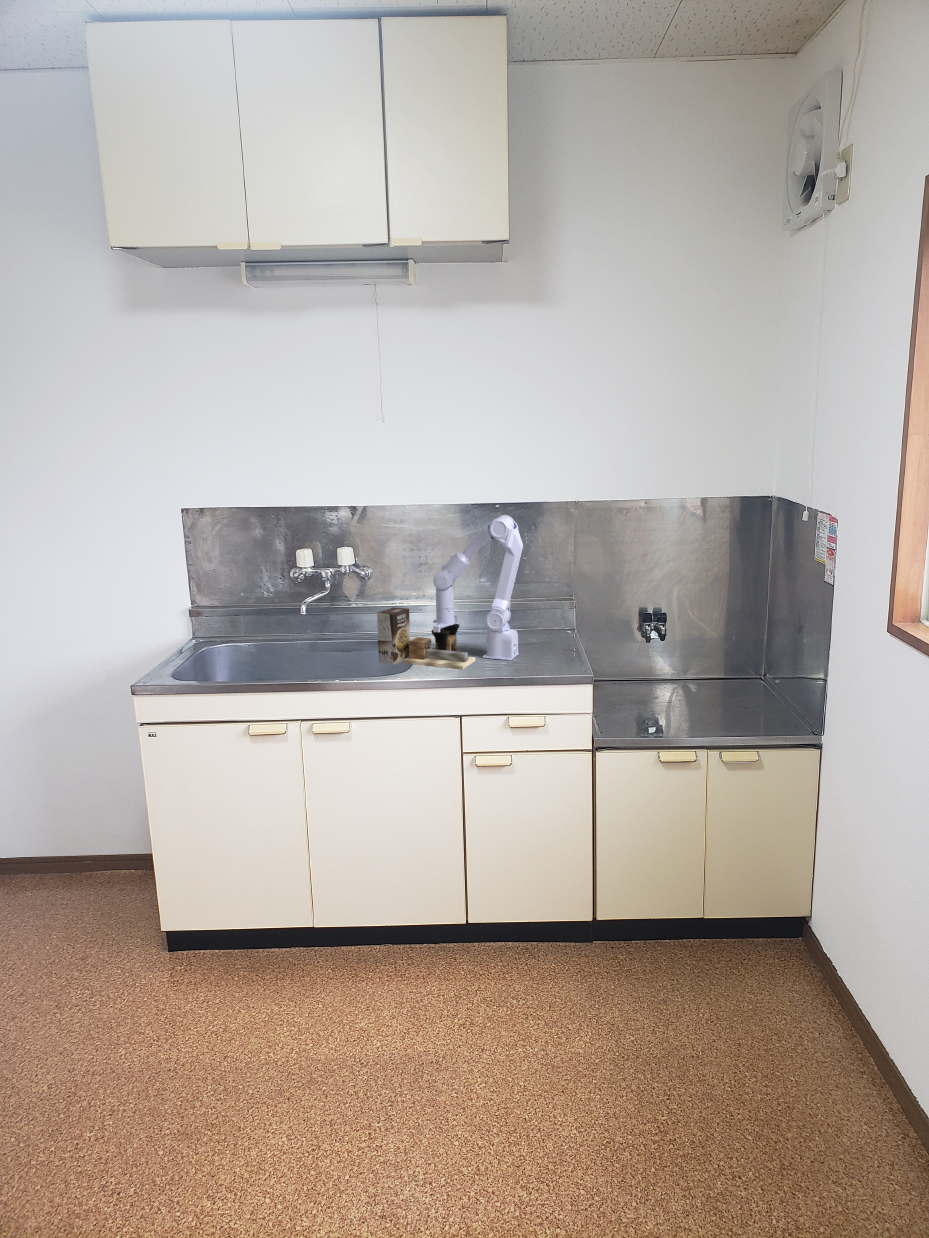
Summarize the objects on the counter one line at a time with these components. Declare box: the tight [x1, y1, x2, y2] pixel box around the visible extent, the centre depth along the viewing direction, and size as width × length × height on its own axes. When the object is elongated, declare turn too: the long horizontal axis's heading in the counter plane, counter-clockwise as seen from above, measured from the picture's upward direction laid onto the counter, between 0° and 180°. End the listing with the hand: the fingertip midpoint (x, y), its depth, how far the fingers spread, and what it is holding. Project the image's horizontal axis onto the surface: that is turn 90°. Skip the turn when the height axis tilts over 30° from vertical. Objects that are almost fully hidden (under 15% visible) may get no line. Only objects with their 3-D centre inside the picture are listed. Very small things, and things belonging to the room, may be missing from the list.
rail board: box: [402, 636, 476, 670], centre depth 274 cm, size 20×10×6 cm, turn 67°
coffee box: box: [376, 606, 411, 666], centre depth 275 cm, size 9×6×16 cm
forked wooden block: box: [434, 634, 458, 652], centre depth 283 cm, size 5×5×6 cm
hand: (446, 648), depth 284 cm, fingers closed on forked wooden block, 5 cm apart
